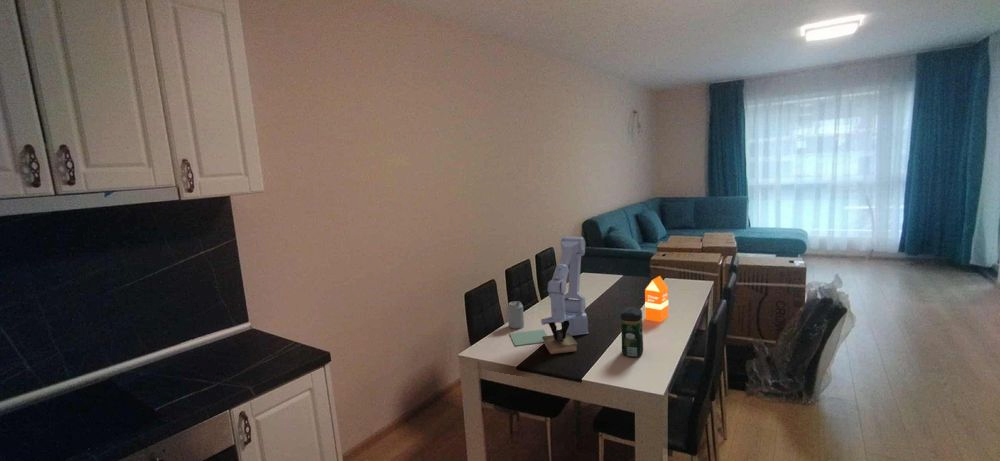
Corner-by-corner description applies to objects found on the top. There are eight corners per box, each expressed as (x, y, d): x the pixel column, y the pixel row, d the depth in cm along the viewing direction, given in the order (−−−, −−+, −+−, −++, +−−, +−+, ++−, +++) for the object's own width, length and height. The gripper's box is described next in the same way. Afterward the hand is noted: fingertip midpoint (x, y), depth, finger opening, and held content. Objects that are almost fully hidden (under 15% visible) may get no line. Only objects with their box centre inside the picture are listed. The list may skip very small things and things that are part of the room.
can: (523, 329, 213) (521, 305, 212) (507, 329, 215) (505, 305, 213) (525, 323, 221) (523, 300, 219) (510, 323, 222) (508, 300, 220)
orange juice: (668, 316, 217) (668, 276, 214) (660, 322, 211) (660, 280, 208) (653, 313, 222) (652, 274, 219) (645, 319, 216) (644, 278, 213)
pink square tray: (568, 340, 196) (568, 335, 196) (576, 350, 186) (576, 345, 185) (544, 344, 195) (543, 338, 194) (550, 354, 184) (550, 348, 184)
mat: (543, 330, 210) (543, 329, 210) (551, 341, 197) (550, 340, 197) (509, 334, 208) (509, 333, 208) (515, 346, 195) (515, 345, 194)
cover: (569, 334, 197) (568, 324, 196) (577, 345, 185) (577, 334, 184) (542, 338, 195) (541, 327, 194) (549, 349, 183) (549, 338, 182)
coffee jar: (625, 346, 186) (624, 304, 184) (645, 349, 182) (644, 305, 180) (619, 356, 178) (618, 311, 175) (639, 359, 174) (638, 313, 171)
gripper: (543, 312, 183) (545, 344, 185) (577, 308, 185) (579, 340, 187) (539, 307, 190) (541, 338, 192) (572, 303, 192) (573, 333, 194)
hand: (559, 338), depth 190 cm, fingers closed on cover, 3 cm apart
